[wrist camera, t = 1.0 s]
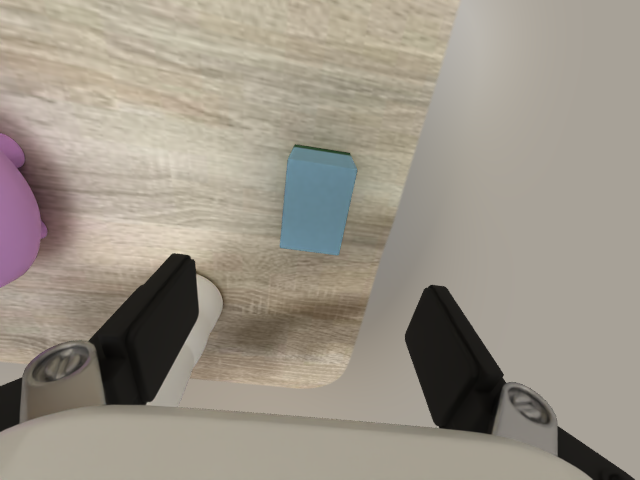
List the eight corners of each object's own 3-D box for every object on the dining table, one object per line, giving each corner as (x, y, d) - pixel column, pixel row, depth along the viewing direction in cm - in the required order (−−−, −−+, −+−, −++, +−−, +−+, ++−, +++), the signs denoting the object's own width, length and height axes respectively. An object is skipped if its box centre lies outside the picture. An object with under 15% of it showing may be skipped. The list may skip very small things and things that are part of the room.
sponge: (294, 144, 21) (287, 158, 16) (350, 152, 21) (357, 169, 17) (287, 219, 24) (279, 248, 20) (335, 226, 24) (338, 256, 20)
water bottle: (226, 274, 27) (-184, 1065, 5) (224, 324, 30) (-27, 929, 8) (152, 262, 26) (-682, 1115, 4) (159, 314, 30) (-295, 944, 8)
